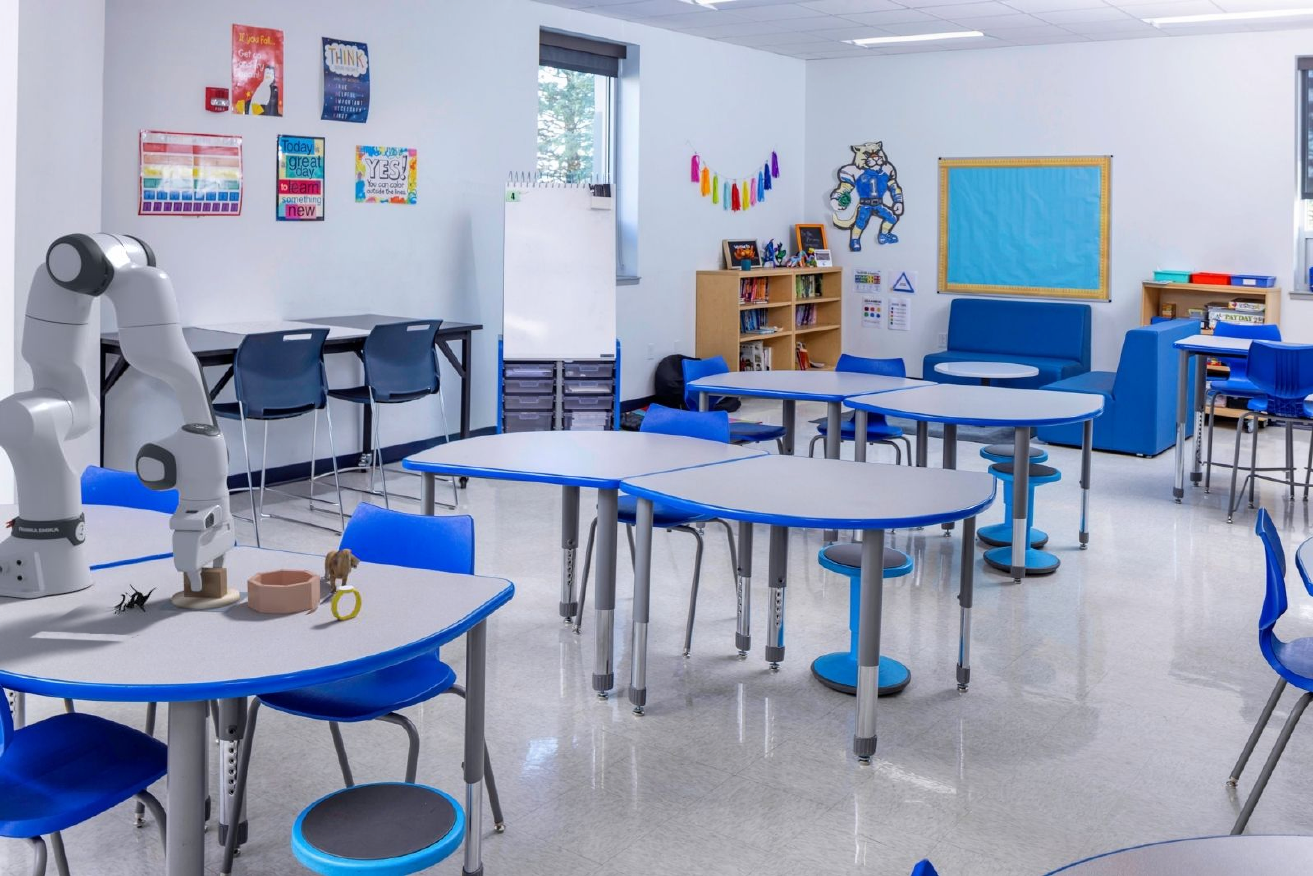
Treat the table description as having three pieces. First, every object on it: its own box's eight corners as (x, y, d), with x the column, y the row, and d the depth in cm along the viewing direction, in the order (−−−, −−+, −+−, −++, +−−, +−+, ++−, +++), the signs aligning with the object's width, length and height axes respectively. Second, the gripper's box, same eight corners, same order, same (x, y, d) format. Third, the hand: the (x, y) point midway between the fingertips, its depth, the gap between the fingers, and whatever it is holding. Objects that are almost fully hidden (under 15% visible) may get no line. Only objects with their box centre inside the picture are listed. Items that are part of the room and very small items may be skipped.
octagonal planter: (240, 617, 227) (240, 585, 226) (264, 598, 239) (263, 568, 238) (305, 619, 227) (305, 587, 226) (325, 601, 239) (325, 570, 238)
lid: (160, 608, 228) (159, 576, 227) (187, 590, 240) (186, 560, 239) (225, 611, 227) (224, 579, 226) (249, 593, 239) (248, 562, 238)
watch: (339, 624, 225) (336, 593, 224) (329, 621, 227) (327, 590, 226) (365, 615, 230) (363, 584, 229) (355, 612, 232) (353, 582, 230)
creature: (134, 628, 223) (165, 607, 230) (128, 602, 221) (159, 581, 228) (100, 623, 225) (131, 602, 232) (94, 596, 224) (125, 577, 231)
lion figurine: (362, 594, 244) (362, 549, 243) (336, 598, 241) (335, 553, 240) (336, 577, 256) (335, 534, 255) (310, 580, 253) (310, 537, 252)
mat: (156, 614, 227) (156, 609, 227) (186, 594, 240) (186, 589, 240) (226, 617, 227) (226, 612, 227) (252, 597, 240) (252, 592, 240)
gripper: (210, 499, 241) (212, 568, 243) (164, 522, 221) (168, 597, 223) (242, 500, 241) (244, 569, 243) (199, 523, 221) (202, 598, 223)
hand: (207, 583), depth 233 cm, fingers open, 8 cm apart
